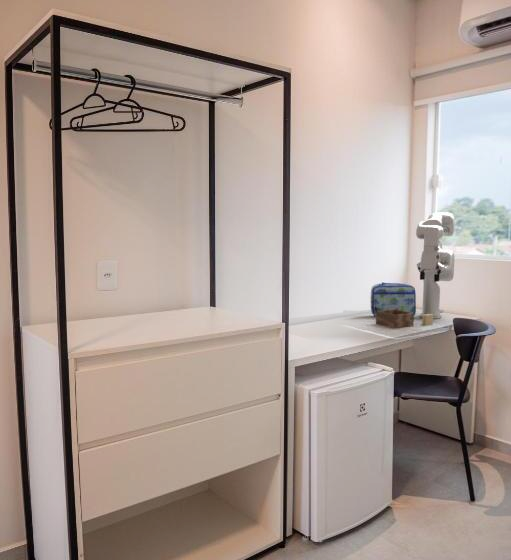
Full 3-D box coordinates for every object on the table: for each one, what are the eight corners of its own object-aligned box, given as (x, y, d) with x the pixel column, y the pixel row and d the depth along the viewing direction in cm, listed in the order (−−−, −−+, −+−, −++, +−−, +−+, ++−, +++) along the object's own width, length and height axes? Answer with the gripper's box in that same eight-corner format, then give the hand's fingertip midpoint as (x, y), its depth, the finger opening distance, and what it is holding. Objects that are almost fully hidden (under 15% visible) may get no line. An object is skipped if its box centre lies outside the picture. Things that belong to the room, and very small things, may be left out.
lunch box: (370, 318, 310) (372, 283, 308) (368, 315, 321) (370, 281, 318) (416, 319, 308) (417, 284, 305) (412, 316, 318) (414, 282, 316)
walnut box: (394, 323, 297) (394, 309, 296) (413, 327, 285) (414, 313, 284) (376, 325, 290) (376, 311, 289) (395, 330, 278) (395, 315, 277)
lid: (425, 323, 300) (426, 311, 299) (447, 328, 287) (448, 315, 286) (407, 326, 292) (407, 313, 291) (429, 331, 279) (429, 318, 278)
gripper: (448, 249, 280) (447, 281, 282) (422, 248, 294) (421, 278, 296) (439, 250, 276) (437, 282, 278) (413, 248, 290) (412, 279, 292)
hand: (429, 280), depth 287 cm, fingers open, 9 cm apart
